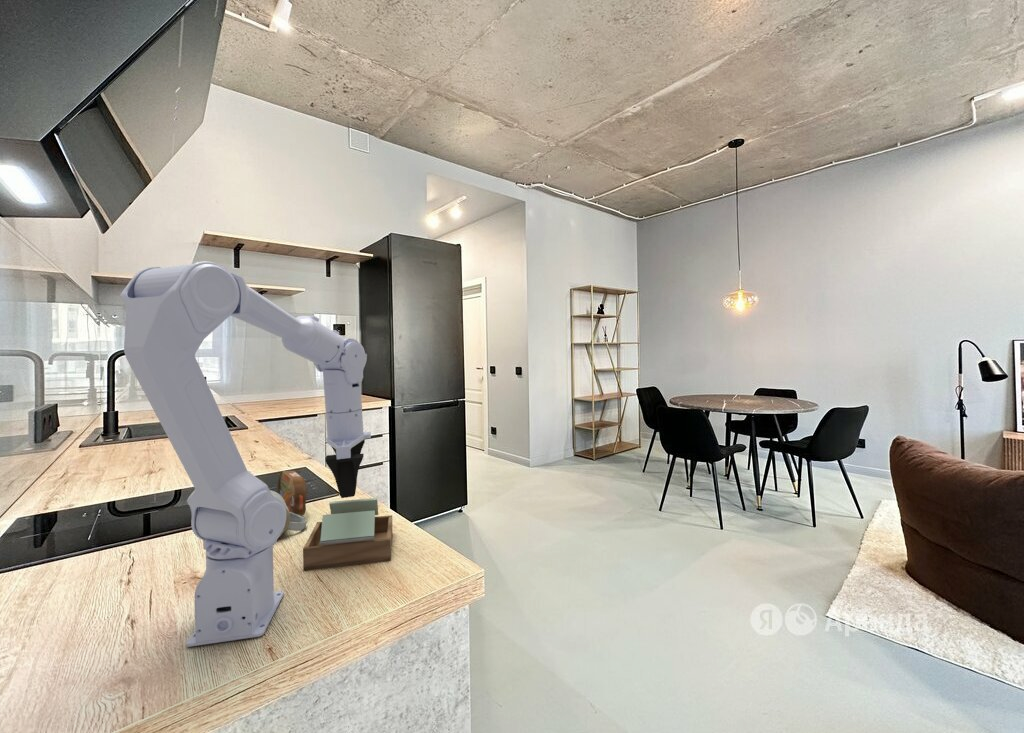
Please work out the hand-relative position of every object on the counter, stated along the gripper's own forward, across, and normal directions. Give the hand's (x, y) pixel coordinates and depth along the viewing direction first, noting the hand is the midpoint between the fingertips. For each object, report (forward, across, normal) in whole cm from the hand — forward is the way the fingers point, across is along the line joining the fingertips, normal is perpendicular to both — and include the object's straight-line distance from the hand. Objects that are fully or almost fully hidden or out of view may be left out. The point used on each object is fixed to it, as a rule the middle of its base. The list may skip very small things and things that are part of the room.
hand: (349, 488), depth 73 cm
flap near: (+5, -5, 0) cm, 7 cm away
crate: (+10, -1, 0) cm, 11 cm away
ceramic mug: (+11, +11, +14) cm, 21 cm away
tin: (+12, +22, +13) cm, 28 cm away
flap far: (+5, +3, 0) cm, 6 cm away
